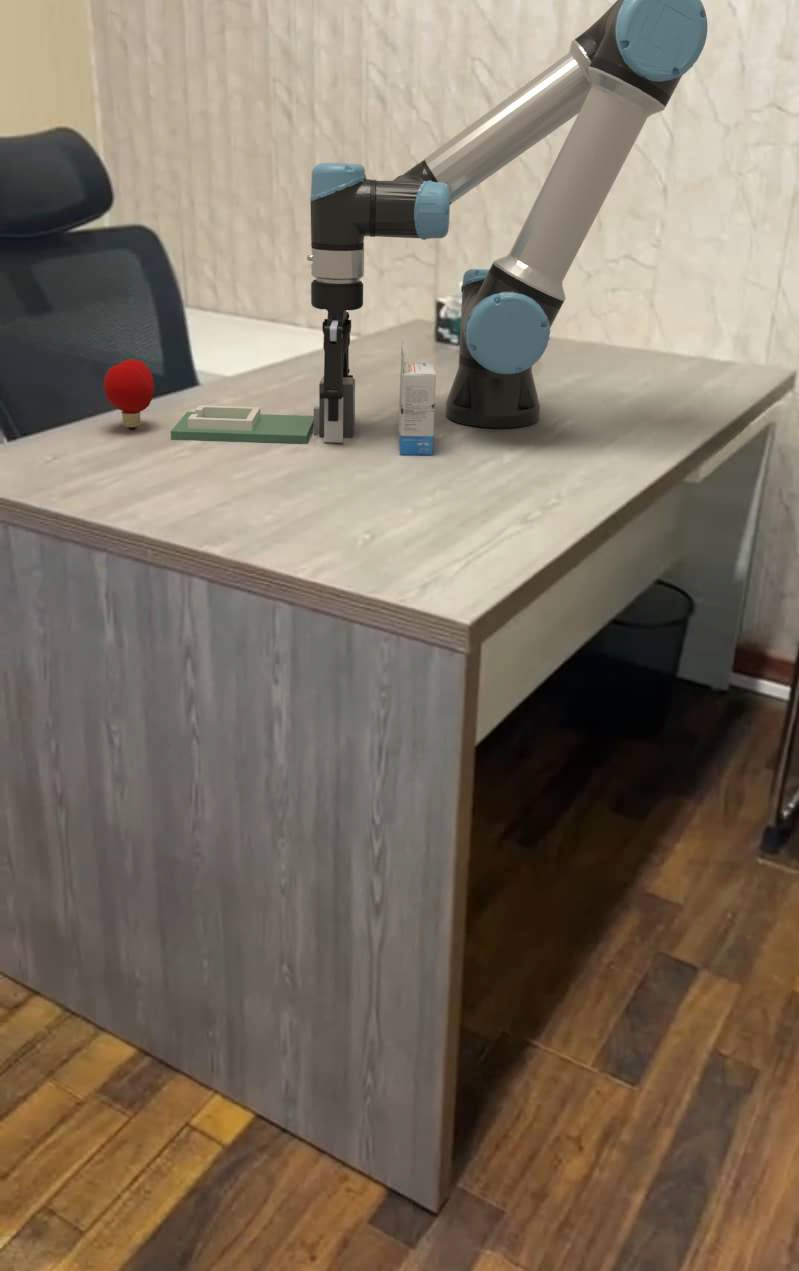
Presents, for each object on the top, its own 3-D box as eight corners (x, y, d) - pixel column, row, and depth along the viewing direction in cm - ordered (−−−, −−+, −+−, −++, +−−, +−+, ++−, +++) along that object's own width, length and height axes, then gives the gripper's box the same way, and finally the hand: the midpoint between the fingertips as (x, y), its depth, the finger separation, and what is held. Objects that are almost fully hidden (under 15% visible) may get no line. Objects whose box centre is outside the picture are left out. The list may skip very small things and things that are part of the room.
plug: (354, 431, 178) (355, 377, 174) (352, 438, 174) (353, 383, 171) (315, 430, 178) (315, 375, 174) (312, 437, 174) (312, 381, 171)
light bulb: (141, 438, 171) (137, 370, 167) (97, 435, 172) (91, 367, 168) (165, 423, 179) (161, 358, 175) (123, 420, 180) (118, 355, 176)
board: (314, 423, 181) (314, 406, 180) (306, 443, 170) (306, 425, 169) (187, 419, 182) (186, 402, 181) (171, 439, 171) (170, 421, 170)
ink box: (434, 456, 166) (438, 352, 160) (399, 455, 166) (402, 351, 160) (430, 440, 174) (434, 340, 168) (397, 439, 174) (400, 340, 168)
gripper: (318, 268, 177) (318, 414, 186) (302, 289, 157) (303, 451, 166) (367, 270, 176) (365, 416, 186) (358, 291, 156) (356, 453, 166)
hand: (336, 433), depth 176 cm, fingers open, 9 cm apart
